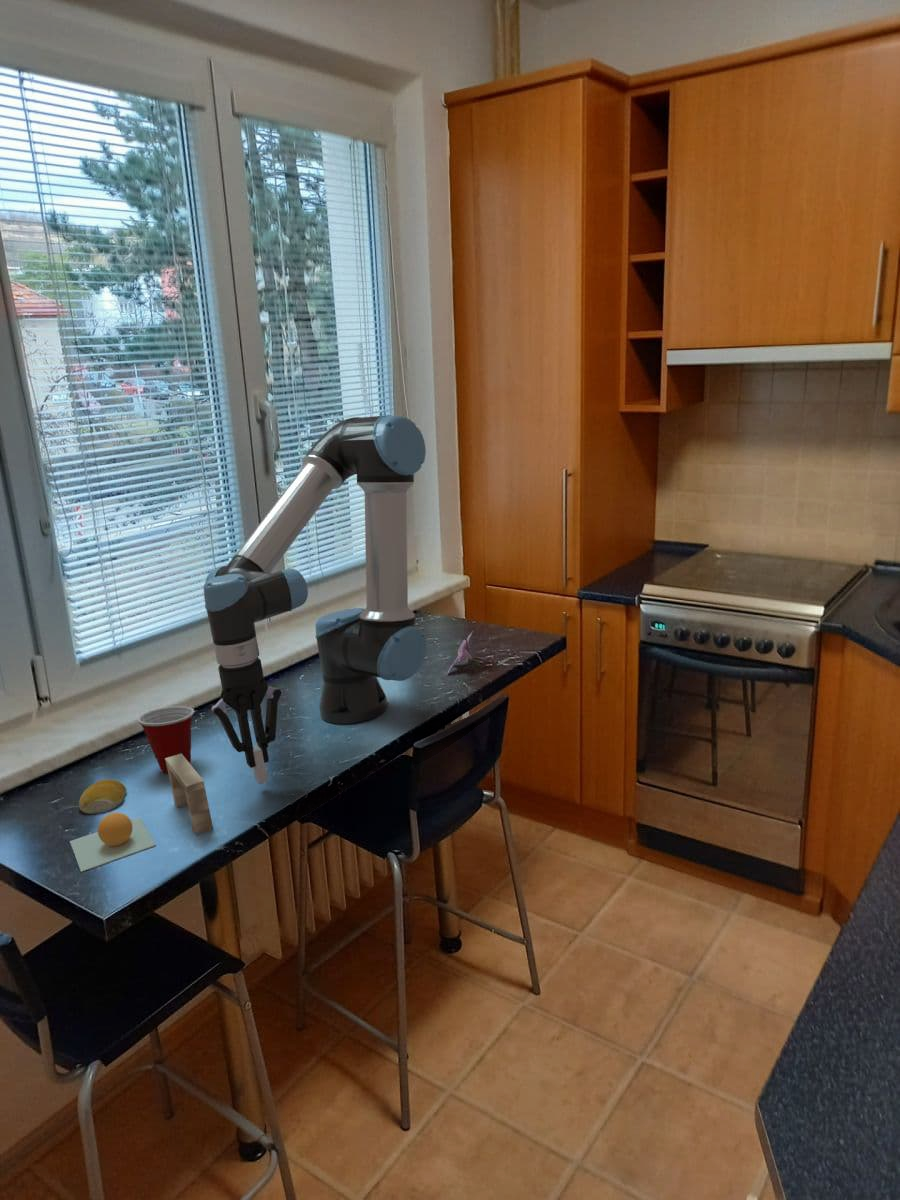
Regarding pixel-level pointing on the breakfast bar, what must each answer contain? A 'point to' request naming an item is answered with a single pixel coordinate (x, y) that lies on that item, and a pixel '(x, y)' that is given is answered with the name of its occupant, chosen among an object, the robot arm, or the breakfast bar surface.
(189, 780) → the bridge
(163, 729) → the plastic cup
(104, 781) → the yellow bowl
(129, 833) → the ball
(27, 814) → the breakfast bar surface
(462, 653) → the lily
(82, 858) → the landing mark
